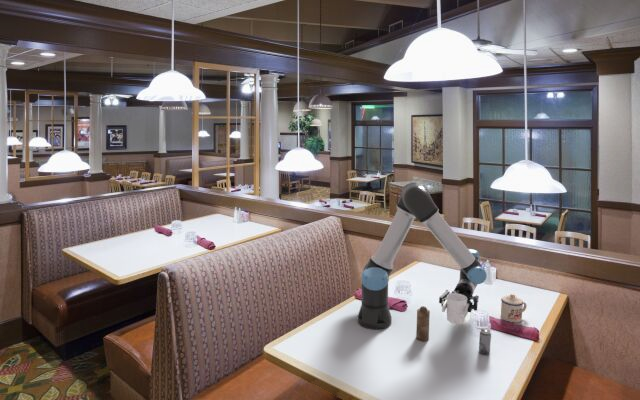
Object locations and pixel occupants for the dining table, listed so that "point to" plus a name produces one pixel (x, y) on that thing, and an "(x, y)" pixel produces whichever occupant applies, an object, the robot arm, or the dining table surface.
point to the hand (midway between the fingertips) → (454, 311)
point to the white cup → (456, 308)
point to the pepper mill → (422, 324)
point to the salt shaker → (484, 342)
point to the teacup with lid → (512, 308)
